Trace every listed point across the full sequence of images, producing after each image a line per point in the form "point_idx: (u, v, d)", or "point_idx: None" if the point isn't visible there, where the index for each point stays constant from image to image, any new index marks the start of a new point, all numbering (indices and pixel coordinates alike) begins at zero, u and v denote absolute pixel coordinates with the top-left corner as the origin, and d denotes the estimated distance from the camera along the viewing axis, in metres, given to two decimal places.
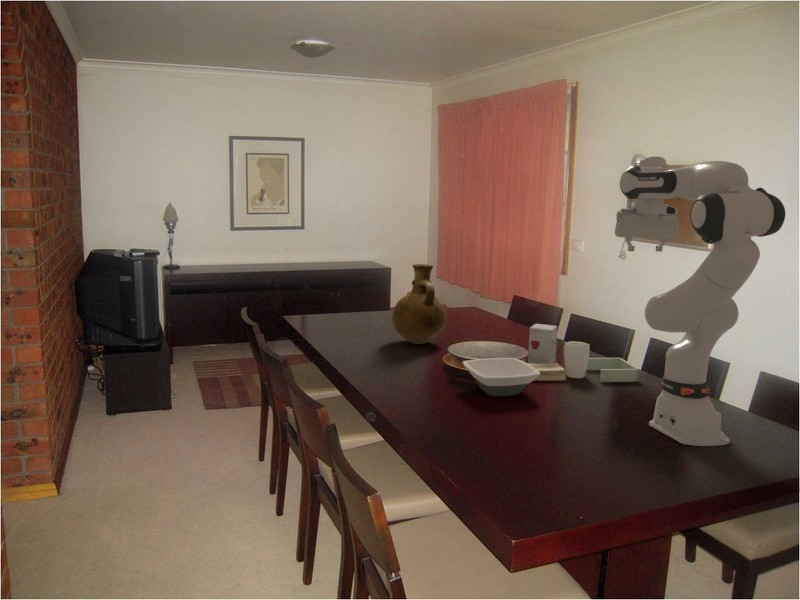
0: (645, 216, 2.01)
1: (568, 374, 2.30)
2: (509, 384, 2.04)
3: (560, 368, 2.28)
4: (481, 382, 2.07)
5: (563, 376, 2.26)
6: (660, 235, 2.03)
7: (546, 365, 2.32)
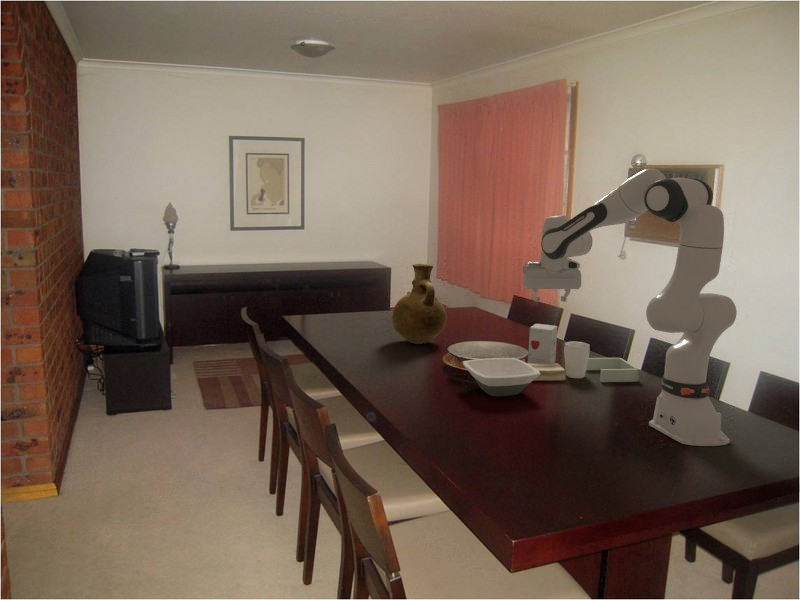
0: (549, 270, 2.16)
1: (568, 374, 2.30)
2: (509, 383, 2.04)
3: (560, 368, 2.28)
4: (481, 382, 2.07)
5: (563, 376, 2.26)
6: (563, 287, 2.18)
7: (546, 365, 2.32)
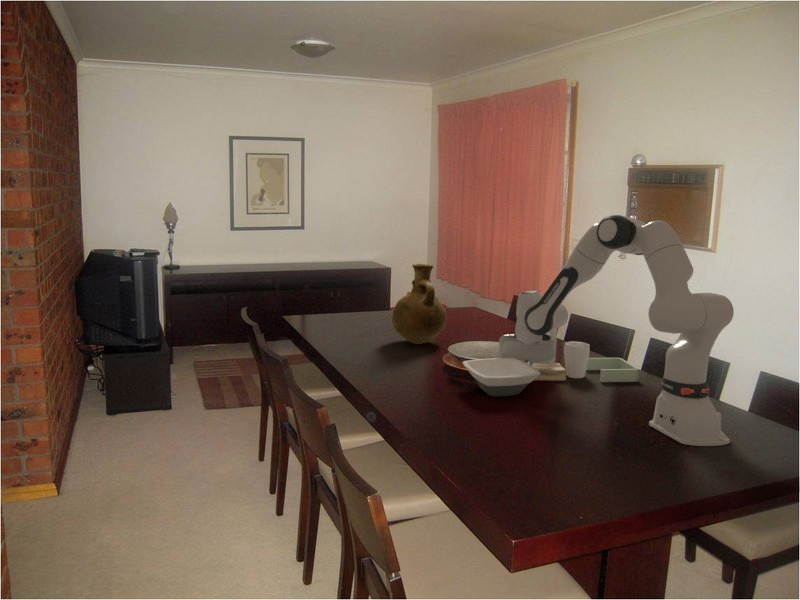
0: (523, 342, 2.25)
1: (568, 374, 2.30)
2: (508, 383, 2.04)
3: (561, 368, 2.28)
4: (481, 382, 2.07)
5: (563, 376, 2.26)
6: (538, 358, 2.27)
7: (547, 365, 2.32)
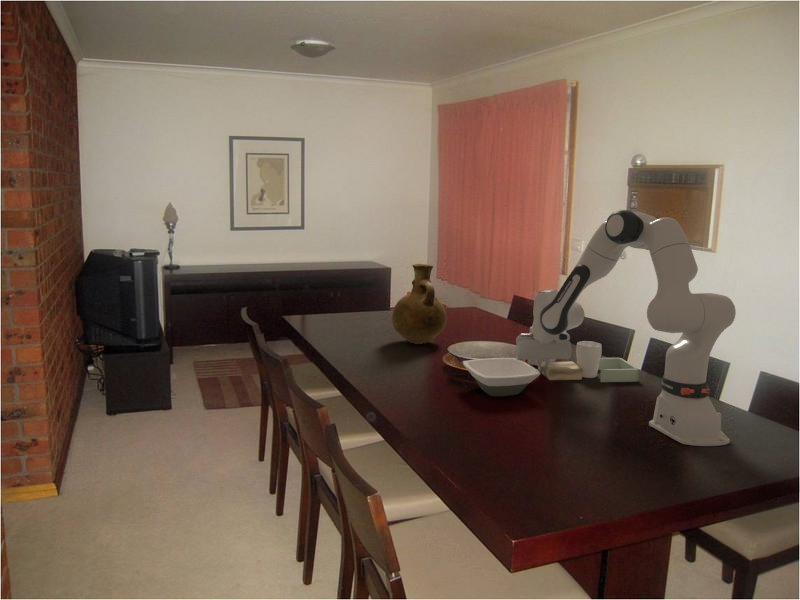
0: (540, 341, 2.26)
1: None
2: (509, 384, 2.04)
3: (576, 367, 2.29)
4: (481, 382, 2.07)
5: (580, 375, 2.27)
6: (555, 357, 2.28)
7: (562, 364, 2.33)
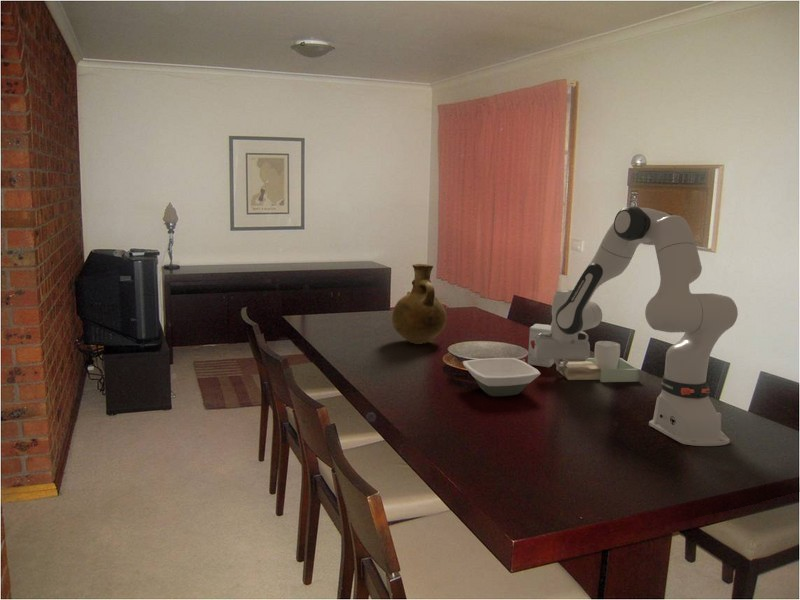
0: (559, 341, 2.26)
1: None
2: (508, 383, 2.04)
3: (595, 366, 2.30)
4: (481, 382, 2.07)
5: (598, 374, 2.28)
6: (573, 357, 2.29)
7: (580, 363, 2.33)
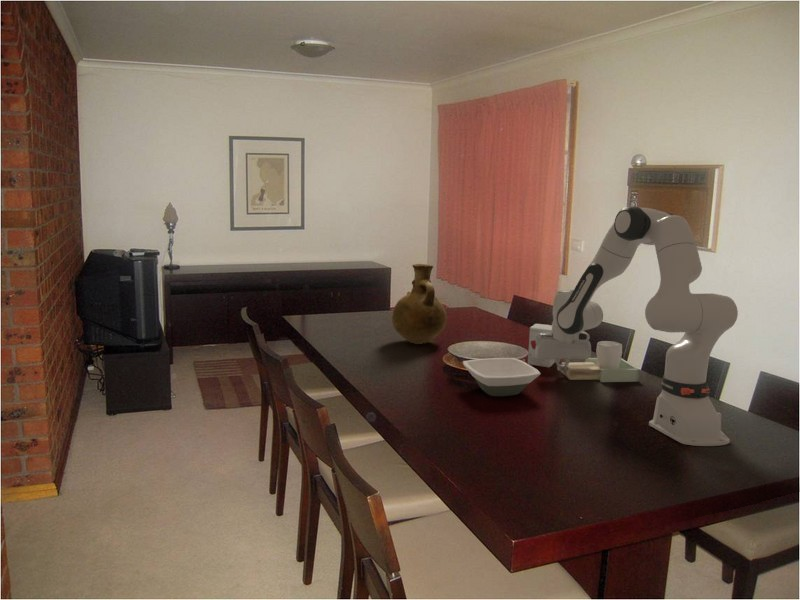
0: (560, 341, 2.27)
1: None
2: (508, 383, 2.04)
3: (597, 367, 2.30)
4: (481, 382, 2.07)
5: None
6: (574, 357, 2.29)
7: (582, 364, 2.34)
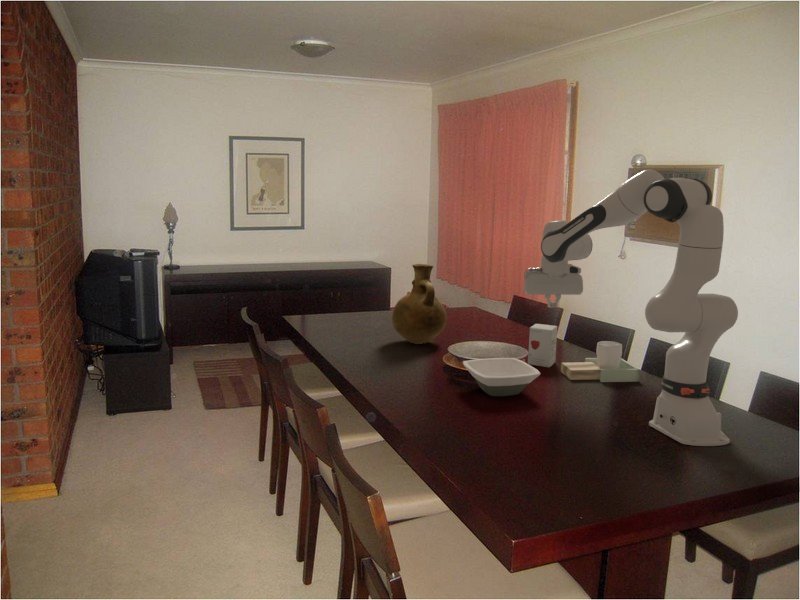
0: (550, 275, 2.15)
1: None
2: (508, 383, 2.04)
3: (597, 367, 2.30)
4: (481, 382, 2.07)
5: None
6: (565, 292, 2.17)
7: (582, 364, 2.34)
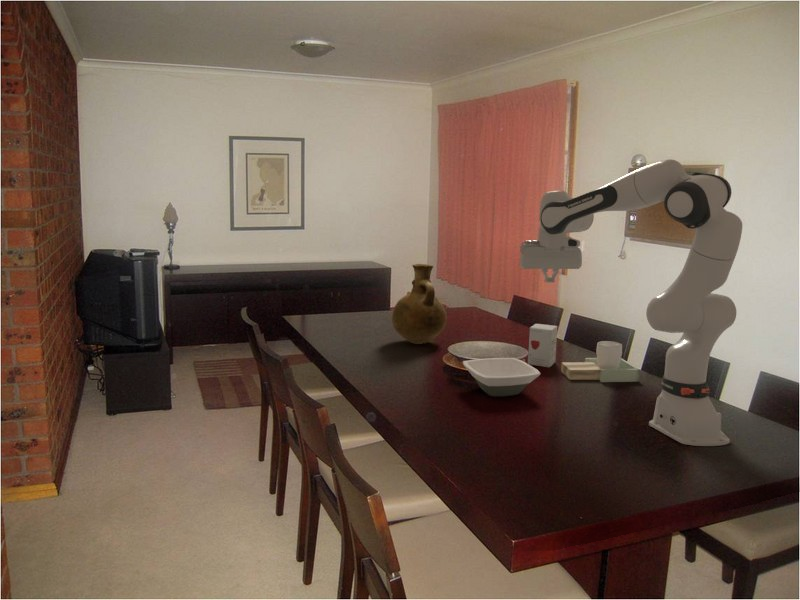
0: (547, 248, 2.05)
1: None
2: (508, 384, 2.04)
3: (597, 367, 2.30)
4: (481, 382, 2.07)
5: None
6: (563, 266, 2.07)
7: (582, 364, 2.34)
